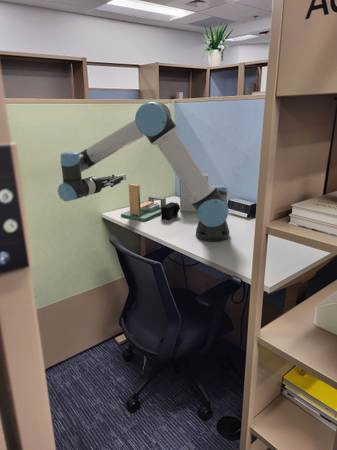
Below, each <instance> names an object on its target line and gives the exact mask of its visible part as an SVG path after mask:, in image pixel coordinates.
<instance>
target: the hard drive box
mask: <svg viewBox="0 0 337 450" xmlns="http://www.w3.org/2000/svg"><path fill="white" fill-rule="evenodd" d="M202 174H203V175H204V177H205V178H206V180H207V181H208V182H209V174H208V173H202ZM179 202H180V203H179V206H180V209H179V212H197V211H196V210H195V208H194V207H193V205H192V204H191V195H190V194H189V192H188V191H187V189H186V188H185V186H184V185H183V183H182V182H181V180H180V179H179Z"/></svg>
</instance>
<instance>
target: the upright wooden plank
mask: <svg viewBox="0 0 337 450" xmlns="http://www.w3.org/2000/svg"><path fill="white" fill-rule="evenodd" d="M140 186H141V185H140V184H134V183H129V184H128V198H129V199H128V200H129V201H128V202H129V211H130V214H133V215H138V216H140V215H141V208H143V207H146V206H148V205H151V204H153V203H155V201H154V202H149V201H145V202H142V203H141V191H140V189H141V188H140Z"/></svg>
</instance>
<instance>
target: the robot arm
mask: <svg viewBox="0 0 337 450" xmlns="http://www.w3.org/2000/svg"><path fill="white" fill-rule="evenodd" d="M134 117H135V118H134V119H133V120H132V121H130V122H128V123H127V124H125V125H124V126H123V127H120V128H119V129H117V130H115V131H114V132H112V133H110V134H109V135H107V136H106V137H104V138H102V139H101V140H99V141H97V142H95V143H94V144H92V145H91V146H89V147H87V148H86V149H84V150H82V151H81V152H77V151H67V152H65V151H64V152H62V153H61V154H60V166H61V174H62V183H61V184H59V185H58V189H57V194H58V196H59V198H60V199H61V200H62V201H64V202H70V201H76V200H78V199H81V198H88V196H91V195H95V194H99V193H100V192H101V191H102V190H103V189H105V188H107V187H110V188H113V187H114V186H117V185H119V184H120V183H122V181H125V180H127V173H122V174H121V173H120V174H118V175H115V174H112V175H107V176H102V177H98V176H95V175H93V176H89V177H85V178H84V177H83V178H82V172H84V171H86V170H89V169H90V168H92V167H93V166H95V165H96V164H98V163H100V162H101V161H103V160H105V159H107V158H108V157H110V156H112V155H114V154H115V153H117V152H119V151H120V150H122V149H124V148H126V147H127V146H129V145H131V144H132V143H133V144H134V143H135V142H136V141H138V140H139V139H141V138H144V137H146V138H147V140H148V142H149V143H150V144H151V145H152V146H157V148H158V149H159V150H160V151H161V154H162V155H163V157H164V158H165V159H166V161H167V163H168V164H169V166H170V167H171V168H172V170H173V171H174V173H175V174H176V176H177V177H178V179H179V181H180V180H181V182H182V183H183V185H184V186H185V188H186V189H187V191H188V192H189V194H190V195H191V204H192V205H193V207H194V208H195V210H196V211H195V212H196V214H197V217H198V224H197V226H196V229H195V236H196V238H197V239H199V240H202V241H206V242H221V241H225V240H228V239H229V237H230V228H229V225H228V222H227V218H228V216H229V205H228V192H229V191H228V187H227V186H225V185H219V184H217V185H216V184H215V185H213V184H212V185H211V184H210V183H209V180H208V181H207V180H206V178H205V177H204V175H203V174H204V173H203V172H202V171H201V170H200V167H199V166H198V165H197V163H196V162H195V160H194V159H193V157H192V155H191V154H190V152H189V151H188V149H187V148H186V146H185V145H184V143H183V142H182V140H181V138H180V137H179V136H178V134H177V125H176V124H175V122H174V121H173V119H172V115H171V111H170V109H169V107H168V106H167V105H166V104H164V103H162V102H160V101H147V102H145V103H143V104H141V105H140V107H138V109H137V110H136V113H135V116H134Z"/></svg>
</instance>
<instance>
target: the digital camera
mask: <svg viewBox="0 0 337 450" xmlns="http://www.w3.org/2000/svg"><path fill="white" fill-rule="evenodd" d="M179 212H180V204H178V202H174V201H173V202H171V201H169V202H168V203H166V205H164V206H162V207H161V214H160V216H161V220H162V221H163V220H164V221H167V222H168V221H170V220H173V218H175V217H178V216H179Z"/></svg>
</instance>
